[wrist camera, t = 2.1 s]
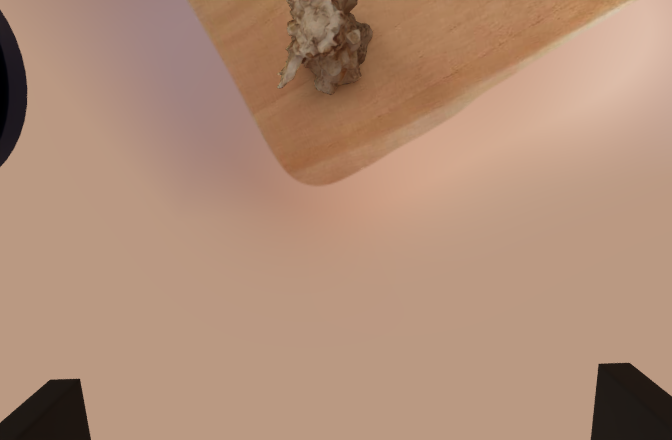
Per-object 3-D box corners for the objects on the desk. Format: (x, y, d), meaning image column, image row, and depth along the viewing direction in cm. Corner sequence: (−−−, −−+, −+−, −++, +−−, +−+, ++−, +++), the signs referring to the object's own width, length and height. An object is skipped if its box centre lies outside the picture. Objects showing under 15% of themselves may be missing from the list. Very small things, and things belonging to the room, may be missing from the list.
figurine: (367, 105, 35) (387, 87, 20) (295, 101, 35) (263, 80, 20) (373, 9, 33) (400, -86, 19) (297, 5, 33) (265, -94, 19)
